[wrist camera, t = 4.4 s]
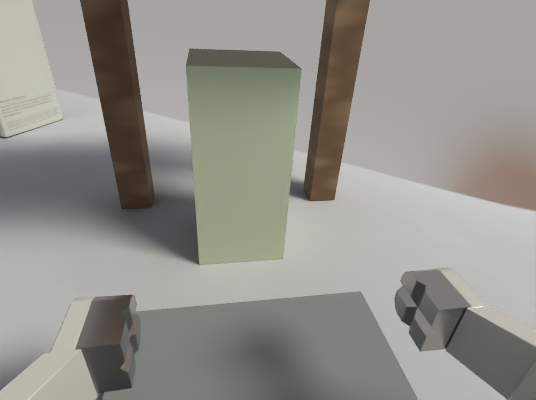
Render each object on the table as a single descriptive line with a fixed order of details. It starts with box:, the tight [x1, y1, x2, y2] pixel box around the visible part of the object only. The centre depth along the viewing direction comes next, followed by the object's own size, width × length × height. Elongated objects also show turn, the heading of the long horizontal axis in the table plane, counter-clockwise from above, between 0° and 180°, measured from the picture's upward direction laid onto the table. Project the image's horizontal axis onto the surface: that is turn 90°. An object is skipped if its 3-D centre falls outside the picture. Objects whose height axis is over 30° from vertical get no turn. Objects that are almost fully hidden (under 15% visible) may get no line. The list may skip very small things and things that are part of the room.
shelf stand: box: [80, 0, 370, 209], centre depth 18 cm, size 16×12×18 cm
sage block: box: [186, 49, 302, 265], centre depth 20 cm, size 5×5×11 cm
